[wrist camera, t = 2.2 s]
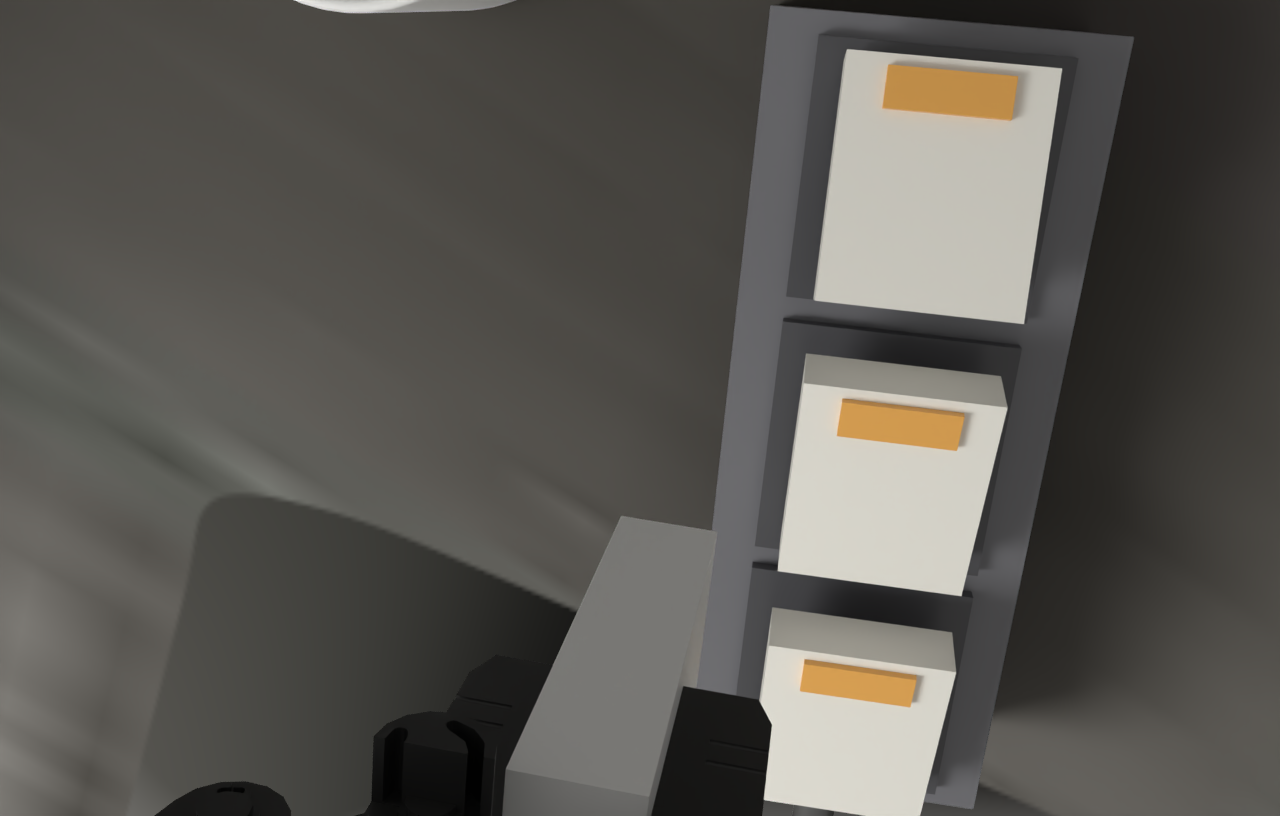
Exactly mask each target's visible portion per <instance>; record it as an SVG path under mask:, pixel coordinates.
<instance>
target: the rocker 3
mask: <svg viewBox="0 0 1280 816" xmlns="http://www.w3.org/2000/svg"><path fill="white" fill-rule="evenodd" d="M955 675H956V665H955V656H954V646H953V636H952V632H946V631H938V630H931V629H924V628H917V627H910V626H903V625H896V624H888V623H881V622H874V621H867V620H860V619H853V618H845V617H838V616H831V615H824V614H817V613H810V612H802V611H795V610H788V609H781V608H774V607H772V614H771V621H770V628H769V635H768V642H767V649H766V656H765V663H764V671H763V678H762V685H761V692H760V699H759V701H760V703H761V705H762V707H763V709H764V711H765V712H766V714H767V716H768V718H769V720H770V722H771V724H772V730H771V739H770V748H769V757H768V766H767V774H766V784H765V793H764V800H768V801H774V802H780V803H787V804H793V805H799V806H806V807H812V808H819V809H825V810H831V811H838V812H844V813H850V814H857V815H863V816H920V813H921V809H922V805H923V802H924V798H925V794H926V790H927V786H928V782H929V778H930V774H931V770H932V766H933V762H934V758H935V754H936V750H937V746H938V742H939V738H940V734H941V730H942V727H943V723H944V719H945V715H946V711H947V707H948V703H949V699H950V695H951V691H952V687H953V683H954V679H955Z"/></svg>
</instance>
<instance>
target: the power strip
mask: <svg viewBox="0 0 1280 816" xmlns="http://www.w3.org/2000/svg"><path fill="white" fill-rule="evenodd" d="M1133 41H1134V37H1129V36H1120V35H1111V34H1102V33H1093V32H1082V31H1071V30H1059V29H1048V28H1036V27H1024V26H1013V25H1001V24H990V23H978V22H967V21H955V20H944V19H932V18H921V17H909V16H898V15H886V14H875V13H863V12H852V11H840V10H829V9H817V8H806V7H794V6H783V5H770V14H769V23H768V32H767V41H766V50H765V59H764V68H763V77H762V86H761V95H760V104H759V113H758V122H757V131H756V140H755V149H754V158H753V167H752V176H751V185H750V194H749V203H748V212H747V221H746V230H745V239H744V248H743V257H742V266H741V275H740V284H739V293H738V302H737V311H736V320H735V329H734V338H733V346H732V355H731V364H730V373H729V382H728V391H727V400H726V409H725V418H724V427H723V436H722V445H721V454H720V463H719V472H718V481H717V490H716V499H715V508H714V517H713V526H712V531H716V532H717V538H716V546H715V553H714V561H713V568H712V575H711V583H710V590H709V597H708V605H707V612H706V620H705V627H704V634H703V642H702V649H701V656H700V664H699V671H698V679H697V686H696V688H697V689H703V690H708V691H714V692H719V693H725V694H730V695H736V696H742V697H747V698H753V699H758V700H759V699H760V692H761V685H762V678H763V671H764V663H765V656H766V649H767V642H768V635H769V628H770V621H771V614H772V607H774V608H781V609H788V610H795V611H802V612H810V613H817V614H824V615H831V616H838V617H845V618H853V619H860V620H867V621H874V622H881V623H888V624H896V625H903V626H910V627H917V628H924V629H931V630H938V631H946V632H952V636H953V646H954V656H955V665H956V675H955V679H954V683H953V687H952V691H951V695H950V699H949V703H948V707H947V711H946V715H945V719H944V723H943V727H942V730H941V734H940V738H939V742H938V746H937V750H936V754H935V758H934V762H933V766H932V770H931V774H930V778H929V782H928V786H927V790H926V794H925V798H924V802H929V803H936V804H942V805H949V806H955V807H961V808H968V809H973V807H974V803H975V798H976V793H977V788H978V783H979V779H980V774H981V769H982V764H983V759H984V755H985V750H986V745H987V740H988V735H989V731H990V726H991V721H992V716H993V712H994V707H995V702H996V697H997V692H998V688H999V683H1000V678H1001V673H1002V668H1003V664H1004V659H1005V654H1006V649H1007V644H1008V640H1009V635H1010V630H1011V625H1012V620H1013V616H1014V611H1015V606H1016V601H1017V596H1018V592H1019V587H1020V582H1021V577H1022V573H1023V568H1024V563H1025V558H1026V553H1027V549H1028V544H1029V539H1030V534H1031V529H1032V525H1033V520H1034V515H1035V510H1036V505H1037V501H1038V496H1039V491H1040V486H1041V481H1042V477H1043V472H1044V467H1045V462H1046V458H1047V453H1048V448H1049V443H1050V438H1051V434H1052V429H1053V424H1054V419H1055V414H1056V410H1057V405H1058V400H1059V395H1060V390H1061V386H1062V381H1063V376H1064V371H1065V366H1066V362H1067V357H1068V352H1069V347H1070V343H1071V338H1072V333H1073V328H1074V323H1075V319H1076V314H1077V309H1078V304H1079V299H1080V295H1081V290H1082V285H1083V280H1084V275H1085V271H1086V266H1087V261H1088V256H1089V251H1090V247H1091V242H1092V237H1093V232H1094V227H1095V223H1096V218H1097V213H1098V208H1099V204H1100V199H1101V194H1102V189H1103V184H1104V180H1105V175H1106V170H1107V165H1108V160H1109V156H1110V151H1111V146H1112V141H1113V136H1114V132H1115V127H1116V122H1117V117H1118V112H1119V108H1120V103H1121V98H1122V93H1123V89H1124V84H1125V79H1126V74H1127V69H1128V65H1129V60H1130V55H1131V50H1132V45H1133ZM847 49H852V50H863V51H874V52H885V53H897V54H908V55H919V56H930V57H941V58H952V59H963V60H974V61H985V62H996V63H1007V64H1019V65H1030V66H1041V67H1052V68H1062V74H1061V80H1060V87H1059V94H1058V100H1057V107H1056V113H1055V120H1054V127H1053V133H1052V140H1051V147H1050V153H1049V160H1048V167H1047V173H1046V180H1045V187H1044V193H1043V200H1042V207H1041V213H1040V220H1039V227H1038V233H1037V240H1036V247H1035V253H1034V260H1033V267H1032V273H1031V280H1030V287H1029V293H1028V300H1027V307H1026V313H1025V320H1024V324H1018V323H1009V322H1000V321H991V320H982V319H974V318H965V317H956V316H947V315H938V314H929V313H920V312H911V311H902V310H894V309H885V308H876V307H867V306H858V305H849V304H840V303H831V302H822V301H815V300H814V299H813V298H814V290H815V282H816V274H817V267H818V259H819V251H820V243H821V235H822V227H823V219H824V211H825V204H826V196H827V188H828V180H829V172H830V164H831V156H832V149H833V141H834V133H835V125H836V117H837V109H838V101H839V94H840V86H841V78H842V70H843V62H844V58H845V54H846V51H847ZM806 353H807V354H816V355H824V356H833V357H842V358H850V359H859V360H867V361H876V362H884V363H893V364H901V365H910V366H918V367H927V368H935V369H944V370H953V371H961V372H970V373H978V374H987V375H995V376H1001V379H1002V384H1003V388H1004V393H1005V398H1006V402H1007V407H1008V408H1007V412H1006V416H1005V420H1004V425H1003V429H1002V433H1001V437H1000V441H999V445H998V449H997V453H996V457H995V461H994V465H993V469H992V473H991V477H990V482H989V486H988V490H987V494H986V498H985V502H984V506H983V510H982V514H981V518H980V522H979V526H978V530H977V535H976V539H975V543H974V547H973V551H972V555H971V559H970V563H969V567H968V571H967V575H966V579H965V583H964V587H963V592H962V596H956V595H949V594H942V593H934V592H927V591H920V590H912V589H905V588H898V587H890V586H883V585H876V584H868V583H861V582H854V581H846V580H839V579H832V578H824V577H817V576H810V575H802V574H795V573H788V572H780V571H778V560H779V549H780V538H781V530H782V523H783V516H784V509H785V501H786V494H787V487H788V480H789V473H790V466H791V458H792V451H793V444H794V437H795V430H796V422H797V415H798V408H799V401H800V394H801V387H802V379H803V372H804V365H805V358H806ZM833 814H834V811H831V810H825V809H819V808H812V807H806V806H799V805H794V808H793V814H792V816H833Z"/></svg>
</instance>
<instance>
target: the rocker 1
mask: <svg viewBox="0 0 1280 816" xmlns="http://www.w3.org/2000/svg"><path fill="white" fill-rule="evenodd" d="M1061 74H1062V68H1052V67H1041V66H1030V65H1019V64H1007V63H996V62H985V61H974V60H963V59H952V58H941V57H930V56H919V55H908V54H897V53H885V52H874V51H863V50H852V49H847V51H846V54H845V58H844V62H843V70H842V78H841V86H840V94H839V101H838V109H837V117H836V125H835V133H834V141H833V149H832V156H831V164H830V172H829V180H828V188H827V196H826V204H825V211H824V219H823V227H822V235H821V243H820V251H819V259H818V267H817V274H816V282H815V290H814V298H813V299H814V300H815V301H822V302H831V303H840V304H849V305H858V306H867V307H876V308H885V309H894V310H902V311H911V312H920V313H929V314H938V315H947V316H956V317H965V318H974V319H982V320H991V321H1000V322H1009V323H1018V324H1024V320H1025V313H1026V307H1027V300H1028V293H1029V287H1030V280H1031V273H1032V267H1033V260H1034V253H1035V247H1036V240H1037V233H1038V227H1039V220H1040V213H1041V207H1042V200H1043V193H1044V187H1045V180H1046V173H1047V167H1048V160H1049V153H1050V147H1051V140H1052V133H1053V127H1054V120H1055V113H1056V107H1057V100H1058V94H1059V87H1060V80H1061Z"/></svg>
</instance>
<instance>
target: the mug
mask: <svg viewBox="0 0 1280 816" xmlns="http://www.w3.org/2000/svg"><path fill="white" fill-rule="evenodd" d="M295 1H297V2H299V3H302V4H306V5H309V6H313V7H316V8H320V9H323V10H329V11H336V12H343V13H392V12H432V11H471V10H479V9H486V8H493V7H496V6H500V5H503V4H507V3H510V2H513V1H515V0H295Z"/></svg>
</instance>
